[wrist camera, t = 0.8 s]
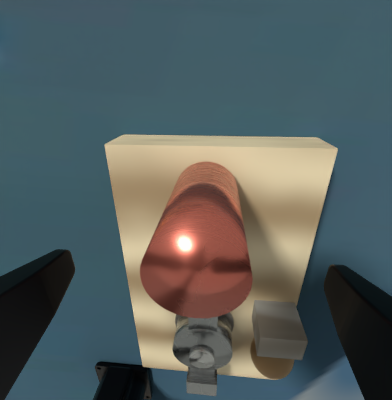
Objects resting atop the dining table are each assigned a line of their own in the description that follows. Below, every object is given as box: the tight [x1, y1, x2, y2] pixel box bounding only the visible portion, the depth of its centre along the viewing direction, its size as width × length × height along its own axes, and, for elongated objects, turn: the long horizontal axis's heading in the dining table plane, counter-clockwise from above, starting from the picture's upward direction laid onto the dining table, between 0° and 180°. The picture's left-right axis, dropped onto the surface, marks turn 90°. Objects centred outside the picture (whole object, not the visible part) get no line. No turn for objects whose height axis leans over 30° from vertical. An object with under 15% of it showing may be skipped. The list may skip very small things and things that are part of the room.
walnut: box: [250, 338, 294, 379], centre depth 18 cm, size 3×3×3 cm
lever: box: [140, 162, 253, 396], centre depth 14 cm, size 19×4×7 cm, turn 0°
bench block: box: [105, 135, 338, 380], centre depth 18 cm, size 22×13×6 cm, turn 0°
